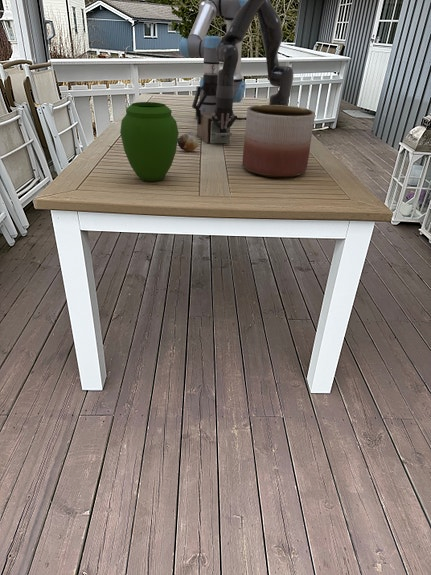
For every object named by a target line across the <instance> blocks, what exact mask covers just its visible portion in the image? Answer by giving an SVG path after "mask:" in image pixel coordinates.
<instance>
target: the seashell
mask: <svg viewBox="0 0 431 575" xmlns="http://www.w3.org/2000/svg"><path fill="white" fill-rule="evenodd" d="M199 145H200V143H199V140H198V138H197V137H195V135H194V134H193V132H192V131H189V132H187V133H184V134H182V135H180V137H178V141H177V146H178V147H179V149H180V150H183V151H185V152H192V151H194V150H196V149H197V148H198V147H200V146H199Z"/></svg>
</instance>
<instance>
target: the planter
mask: <svg viewBox="0 0 431 575" xmlns="http://www.w3.org/2000/svg"><path fill="white" fill-rule="evenodd" d="M315 117H316V112H315V111H314V110H312V109H308V108H305V107H299V106H292V105H288V106H284V105H269V104H256V105H250V106H248V107H247V108H246V117H245V118H246V119H245V128H244V129H245V131H244V140H243V141H244V142H243V151H242V152H243V153H242V166H243V168H244V169H246V170H247V171H248V172H250V173H251V174H255V175H258V176H261V177H268V178H277V179H280V178H281V179H282V178H283V179H284V178H293V177H298V176H300V175H303V174H305V172H306V171H307V169H308V166H309V158H310V151H311V144H312V137H313V130H314V123H315Z"/></svg>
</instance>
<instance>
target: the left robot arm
mask: <svg viewBox="0 0 431 575" xmlns="http://www.w3.org/2000/svg"><path fill="white" fill-rule="evenodd" d="M247 1H248V0H201V1H200V2H199V5H198V13H197V16H196V17H195V20H194V23H193V25H192V28H191V30H190V32H189V35H188V37H187V38H182V39H180V42H179V54H180V55H181V56H182V57H185V58H198V59H200V58H201V59H203V68H202V69H203V70H202V72H203V76H202V78H200V80H199V86H197V85H196V88H195V91H196V92H195V95H194V98H193V102H192V105H191V108H192V109H193V110H195V119H196V123H197V124H200V118H201V112H215V110H216V91H217V81H218V72H219V70H220V63H221V62H220V61H218V60H217V58H216V48H217V46H218V44H219V42H220V41H221V39H222V38H221V37H220V36H219V35H207V34H208V31H209V30H210V29H209V28H210V27H211V23H212V22H213V20H214V19H215V18H216V16H218V17H219V16H221V17H223V21H224V22H225V23H226V33H227V32H228V30H229V28H230V26H231V23H232V21H233V19H234V17H235V15H236V14H237V12H238V11H239V10H240V9H241V7H242V6H243V5H244V4H245V3H246V2H247ZM235 46H236V47H237V49H238V54H239V56H238V62H237V66H236V70H235V73H234V83H233V90H234V92H233V104H234V103H241V102H242V100H243V98H244V95H245V90H246V81H245V80H244V77H243V75H242V74H241V72H242V71H241V70H242V51H243V50H242V49H243V48H242V47H243V40H242V41H241V42H239V43H237V44H236V45H235ZM246 118H247V117H237V119H236V120H246ZM230 119H231V117H230ZM197 124H196V125H197Z"/></svg>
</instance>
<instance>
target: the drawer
mask: <svg viewBox="0 0 431 575" xmlns="http://www.w3.org/2000/svg"><path fill="white" fill-rule="evenodd" d="M216 121H217V122H218V124H219V120H216ZM229 121H230V120H229ZM229 121H228V122H229ZM219 132H220V128H218V127H217V126H216V125H215V124H214V122H213V121H212V120H210V126H209V140H210V143H209V144H230V140H231V139H230V137H231V136H233V132H231V127H228V128H227V129H226V133H219ZM221 136H225V137H221Z"/></svg>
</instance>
